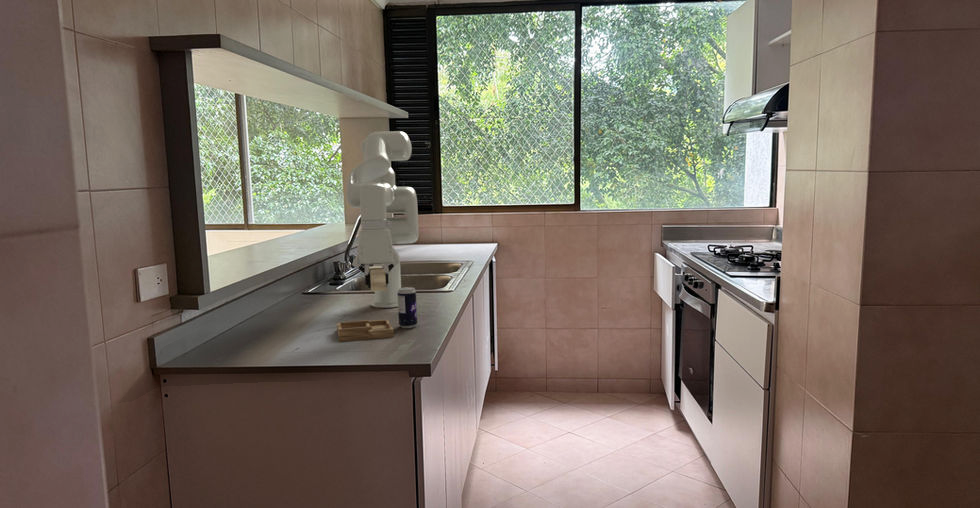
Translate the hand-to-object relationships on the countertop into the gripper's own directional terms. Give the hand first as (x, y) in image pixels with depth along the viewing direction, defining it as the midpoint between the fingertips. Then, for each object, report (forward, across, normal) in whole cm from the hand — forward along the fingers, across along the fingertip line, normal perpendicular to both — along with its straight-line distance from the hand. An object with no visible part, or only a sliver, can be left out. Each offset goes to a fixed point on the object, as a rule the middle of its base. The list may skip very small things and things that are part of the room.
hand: (377, 286), depth 193 cm
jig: (+14, +4, 0) cm, 15 cm away
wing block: (+1, 0, 0) cm, 1 cm away
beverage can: (+14, -9, -4) cm, 18 cm away
